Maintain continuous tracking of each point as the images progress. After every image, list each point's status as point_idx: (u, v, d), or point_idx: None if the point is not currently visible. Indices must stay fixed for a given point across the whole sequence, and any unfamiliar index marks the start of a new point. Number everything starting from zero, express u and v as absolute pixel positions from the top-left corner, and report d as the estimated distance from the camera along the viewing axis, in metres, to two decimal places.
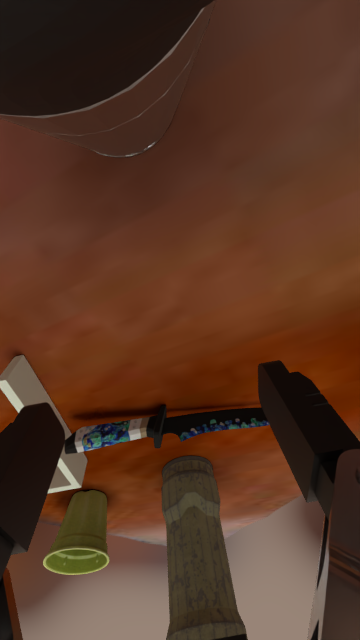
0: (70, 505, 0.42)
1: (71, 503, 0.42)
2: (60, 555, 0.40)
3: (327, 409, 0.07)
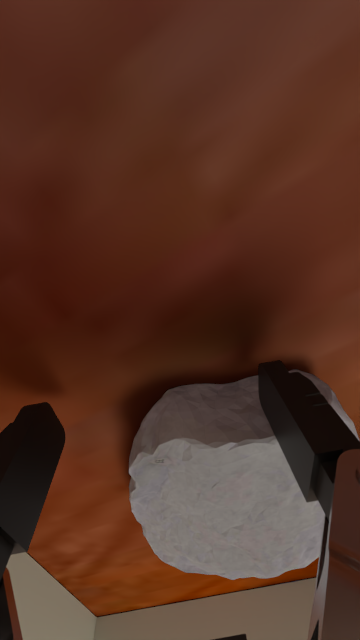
0: None
1: None
2: None
3: (327, 409, 0.07)
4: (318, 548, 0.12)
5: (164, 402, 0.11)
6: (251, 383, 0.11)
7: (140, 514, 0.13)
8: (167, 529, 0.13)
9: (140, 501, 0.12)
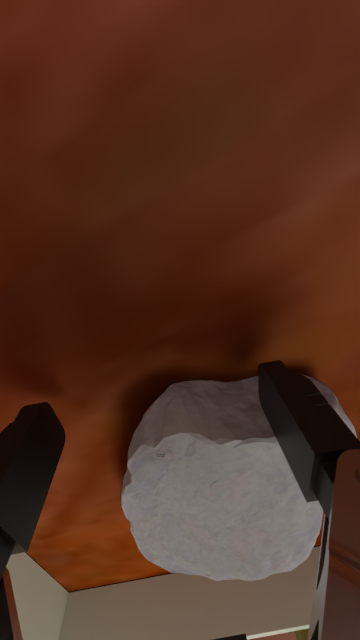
0: None
1: None
2: None
3: (327, 409, 0.07)
4: (305, 552, 0.13)
5: (168, 396, 0.11)
6: (255, 383, 0.11)
7: (130, 510, 0.13)
8: (156, 526, 0.12)
9: (132, 496, 0.12)
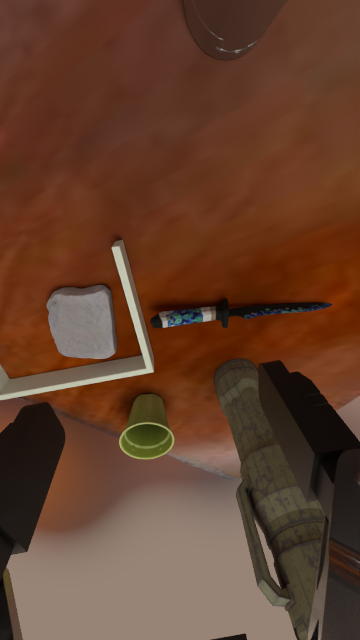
0: (135, 403, 0.48)
1: (135, 402, 0.48)
2: (129, 442, 0.46)
3: (327, 409, 0.07)
4: (109, 344, 0.39)
5: (59, 289, 0.37)
6: (88, 287, 0.38)
7: (53, 332, 0.40)
8: (61, 335, 0.39)
9: (52, 324, 0.39)
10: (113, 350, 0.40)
